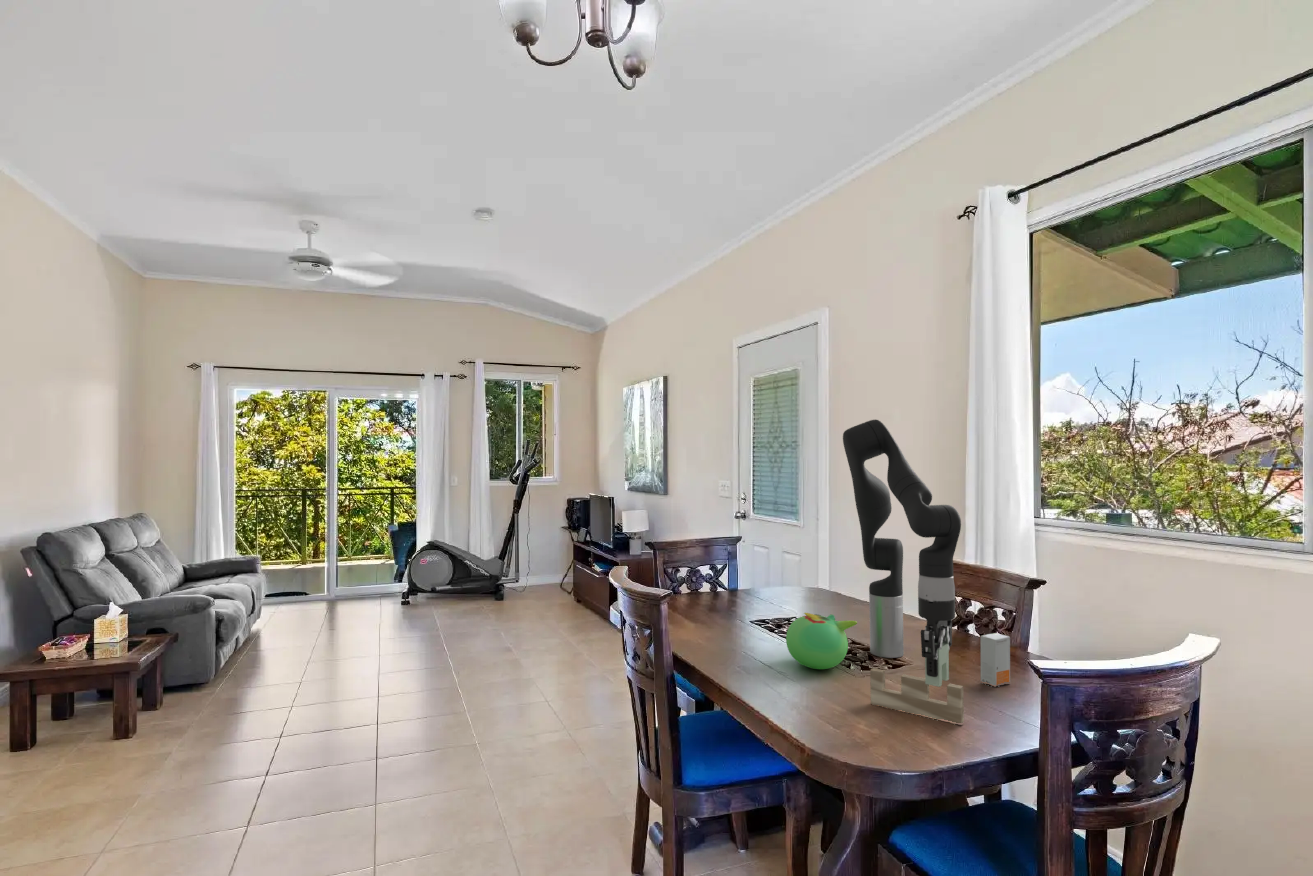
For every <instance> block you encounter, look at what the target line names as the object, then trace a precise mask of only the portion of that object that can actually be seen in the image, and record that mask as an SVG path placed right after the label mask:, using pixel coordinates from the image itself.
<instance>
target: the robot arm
mask: <svg viewBox="0 0 1313 876" xmlns="http://www.w3.org/2000/svg"><path fill="white" fill-rule="evenodd" d="M842 443H843V444H842V445H843V447H844V448H843V449H844V452H845V456H846V458H847V459H846V460H847V464H848V467H849V470H850V476H851V479H852V486H853V487H852V488H853V493H854V501H855V506H856V512H857V515H858V521H859V525H860V533H861V534H860V535H861V544H862V554H863V556H862V557H863V560H864V561H863V563H864V564H865V566H866V567H867V568H868V569H870V570H874V571H875V570H876V571H889V572H890V574H889V575H888V576H886V577H884V578H882V579H879V580H874V581H872V582H871V583H870V584H869V587H868V591H869V592H868V594H869V595H868V596H869V598H868V599H869V604H868V605H869V650H870V651H869V653H870V654H872V655H874V656H876V657H881V658H891V659H892V658H900V657H903V656H904V605H903V604H904V600H903V599H904V594H903V569H904V568H903V567H904V566H903V564H904V546H903V543H902V541H901V540H900V539H898V538H888V537H887V538H885V537H884V538H883V537H875V536H876V535H877V534H878V531H879V530H880V529H881V528H882V527H883V525H884V524H885V523H886V522H887V520H888V519H889V518H890V516H891V514H892V500H891V494H893V496H894V497H895V498H896V500H897V501H898V502H899V503H900V505H901V506H902V507H903V511H904V514H905V516H906V518H907V522H908V525H909V527H910V529H911V531H912V532H913V533H915V534H916V535H917V536H919V537H921V538H925V539H926V538H927V539H928V538H934V540H933V543H932V544H931V545H930V546H927V547H924V548H922V549H920V551H919V552H918V582H917V599H918V600H917V602H918V605H917V606H918V607H917V609H918V610H917V611H918V612H917V614H918V616H919V617H921V618H922V619H925V620H926V625H925V626H924V629H920V644H921V647H920V648H921V657H922V658H924V659H925V658H926V666H927V675H928V676H932V677H937V676H938V649H940V650H941V649H942V643H946V644H948V652H950V648H951V647H952V645H953V641H952V640H953V637H952V636H953V621H954V619H955V618H956V586H955V581H954V555H955V552H956V549H957V545H958V541H959V537H960V535H961V534H960V533H961V531H962V530H961V529H962V519H961V516H960V514H959V511H958V510H957V508H955V507H954V506H952V505H950V504H934V505H932V504H931V503H932V500H933V494H932V492H931V490H930V488H929V487H928V486H927V485H926V484H925V483H924V481H923V480H922V479H921V478H920V477H919V476H918V474H917V473H916V472H915V470H914V469H913V468H912V466H911V465H910V463H909V461H908V460H907V459H906V456H905V455H904V453H903V451H902V450H901V448H900V447H899V445H898V443H897V442H896V440H895V439H894V437H893V436H892V433H891V432H890V431H889V429H888V428H887V426H886V425H885V424H884V423H883V422H882V421H881V420H879V419H870V420H867V421H865V422H862V423H859V424H856V425H855V426H852V427H849V428H847V429H845V430H844V431H843V433H842ZM883 454H885V455H886V456H887V459H888V461H887V462H888V466H887V474H886V477H887V478H886V480H887V484H888V486H887V484H886V483H884V482H883V480H882V479H880V478H879V477H877V476H876V475H874V474H872V473H871V472H870V471H869V470H868V469H867V468H866V465H865V462H866V461H868V460H870V459H873V458H877V457H878V456H881V455H883ZM890 492H891V494H890ZM929 648H930V649H931V652H929Z"/></svg>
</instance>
